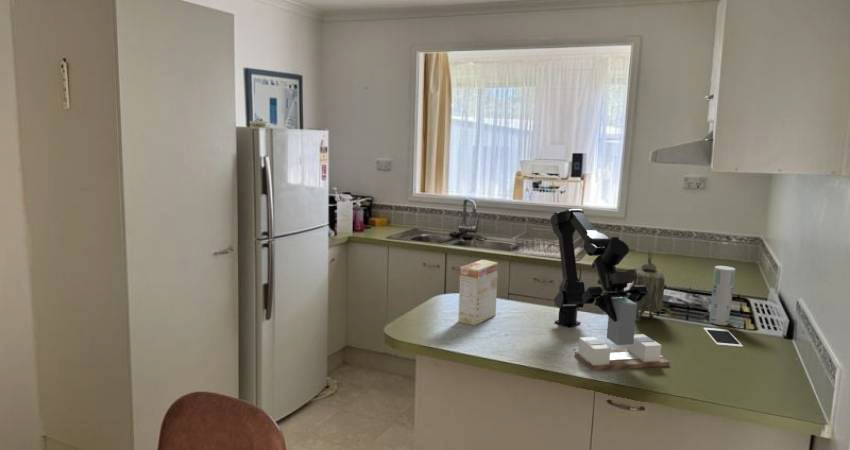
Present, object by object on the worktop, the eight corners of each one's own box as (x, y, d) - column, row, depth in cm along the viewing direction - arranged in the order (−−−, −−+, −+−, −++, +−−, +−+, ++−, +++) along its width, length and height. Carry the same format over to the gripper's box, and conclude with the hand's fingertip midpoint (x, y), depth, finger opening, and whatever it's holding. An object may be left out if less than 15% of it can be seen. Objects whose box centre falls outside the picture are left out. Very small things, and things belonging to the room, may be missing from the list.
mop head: (630, 310, 219) (636, 245, 215) (656, 313, 217) (662, 247, 212) (633, 322, 205) (639, 253, 201) (660, 325, 203) (667, 255, 199)
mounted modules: (593, 365, 164) (594, 348, 163) (578, 353, 172) (579, 336, 172) (659, 360, 168) (661, 344, 168) (641, 349, 177) (643, 333, 176)
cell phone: (727, 331, 201) (727, 329, 200) (743, 348, 185) (743, 346, 185) (702, 329, 202) (703, 327, 202) (716, 345, 186) (717, 344, 186)
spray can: (730, 326, 204) (737, 270, 201) (709, 323, 206) (716, 268, 203) (727, 320, 211) (733, 266, 207) (707, 318, 213) (713, 264, 209)
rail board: (592, 370, 163) (593, 365, 163) (574, 355, 174) (575, 350, 173) (669, 365, 168) (669, 360, 168) (647, 351, 179) (647, 346, 178)
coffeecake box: (479, 311, 213) (481, 259, 210) (496, 315, 209) (499, 262, 206) (457, 321, 201) (459, 266, 198) (474, 326, 197) (477, 269, 194)
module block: (606, 337, 172) (610, 297, 170) (622, 336, 173) (625, 297, 171) (617, 345, 166) (621, 303, 164) (633, 344, 167) (637, 303, 165)
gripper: (590, 260, 168) (606, 309, 159) (648, 258, 172) (667, 306, 163) (575, 279, 176) (590, 326, 168) (630, 277, 180) (648, 324, 172)
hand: (624, 320), depth 167 cm, fingers closed on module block, 5 cm apart
